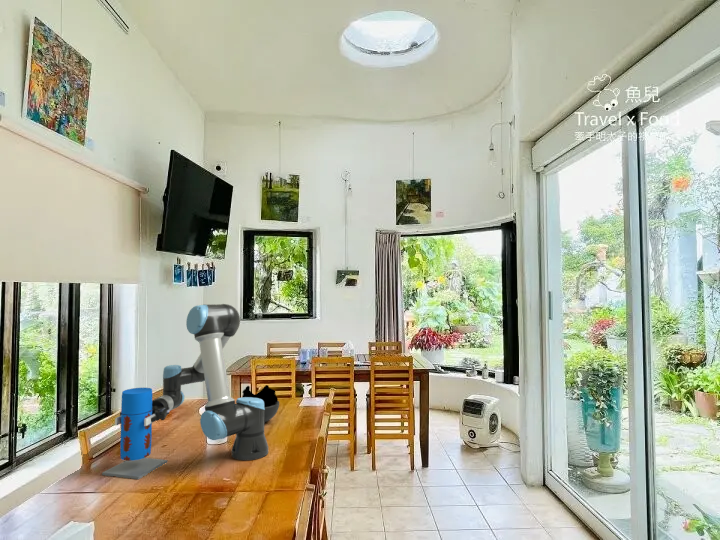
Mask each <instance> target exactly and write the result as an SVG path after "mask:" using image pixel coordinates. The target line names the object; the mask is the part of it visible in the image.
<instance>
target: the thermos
mask: <svg viewBox="0 0 720 540" xmlns="http://www.w3.org/2000/svg"><path fill="white" fill-rule="evenodd" d="M152 401H153V389H152V388H150V387H136V388H135V387H134V388H133V387H132V388H129V389H125V390H122V393H121V408H120V410H121V411H120V413H121V424H120V448H119V449H120V459H121V461H132V460H139V459H143V458H148V457H150V455H151V454H152V453H151V451H152V438H153V437H152V432H153V431H152V430H153V429H152V428H153V423H151V424H149V425H147V426H144V419H145V418H147V417H149V416H151V415H152Z"/></svg>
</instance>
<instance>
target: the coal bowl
mask: <svg viewBox="0 0 720 540" xmlns="http://www.w3.org/2000/svg"><path fill="white" fill-rule="evenodd" d="M250 388H251V387H250V386H249V385H246V386H245V388H244V389H243V390H242V397H241V398H243V397H252V398H259V399H262V400H263V401H264V408H265V413H264V423H266V422H269V421H270V420H271V419H273V418H274V417H275V415H276V414H277V412H278V410H279V407H280V401H279V400H278V396H277V394H276V391H275V390H274V389H273V388H271V387H269V385H267V384H266V385H264V386H263V387H262V388H261V390H259V392H257V393H255V394H254V393H253V392H252V391H251V389H250Z"/></svg>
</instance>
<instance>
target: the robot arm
mask: <svg viewBox="0 0 720 540" xmlns="http://www.w3.org/2000/svg"><path fill="white" fill-rule="evenodd" d="M185 321H186V330H187V331H188V333H190V334H191V335H194V340H195V341H196V342H198V343H199V351H200V353H199V356H198V357H197V358H196V360H195V362H194V363H193V364H192V366H190V367H184V368H183V367H182V366H181V365H179V364H170V365H166V366H165V367H164V368H163V374H162V386H163V387H162V395H161V396H160V397H158V398H155V399H152V415H151V416H149V417H147V418H145V419H144V426H147V425H149V424H151V423H152V424H153V423H154V422H156V421H157V422H159V420H161V421H164V420H165V419H166V417H167V416H168V415H169V414H170V412H171V411H173V410H174V409H176V408H179V407H180V406H181V405H182V404H183V403H184V401H185V395H184V392H183V391H182V386H185V385H189V384H194V383H201V382H202V383H203V382H204V383H205V389H206V390H205V391H206V397H207V402H206V403H205V405H204V410H205V411H203V412H202V413H201V416H200V419H199V423H200V427H201V430H202V433H203V434H204V435H205V437H206V438H207V439H209V440H211V441H218V440H220V439H221V440H223V439H226V438H228V437H230V436H234V435H235V438H234V442H233V445H232V448H231V458H232V459H235V460H237V461H252V460H258V459H261V458H263V457H266V456H267V455H268V453H269V444H268V441H267V438H266V436H265V422H264V413H265V408H264V401H263V400H262V399H259V398H252V397H243V398H242V397H237V398H236V400H235V398H233V397H231V395H230V388H229V381H228V375H227V369H226V364H225V356H224V348H225V346H226V344H227V343H228V341H229V340H230V339H231V338H232V337H234V336H235V335H236V333H237V331H238V330H239V328H240V323H241V317H240V313H239V312H238V310H237V309H236V308H235V307H234V306H232V305H230V304H226V303H222V304H201V305H198V304H197V305H194V306H193V307H192V308H191V309H190V310H189V312H188V314H187V316H186V320H185ZM119 425H121V412H120V413H119V416H117V417H115V418H114V426H119Z"/></svg>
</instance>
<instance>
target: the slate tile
mask: <svg viewBox="0 0 720 540" xmlns="http://www.w3.org/2000/svg"><path fill="white" fill-rule="evenodd" d="M167 462H169V461H168V459H162V458H161V459H160V458H150V457H145V458H143V459H139V460H132V461H126V460H123V461H122V462H121V463H118V464H116V465H115V466H112V467H110V468H108V469H106V470H105V471H103V472H102V474H101V476H104V475H105V476H107V477H113V476H116V477H115V478H122V477H123V478H122V479H130V478H131V480H140V479H142V478H144V477H145V476H147V475H148V473H149V474H150V472H151V471H152V472H154V471H156V470H157V469H159V468H160V466H161V467H162V465H163V464H164V465H166V464H168V463H167ZM165 463H166V464H165ZM164 465H163V466H164ZM158 467H159V468H158ZM156 468H157V469H156ZM155 469H156V470H155ZM153 470H154V471H153ZM152 472H151V473H152ZM143 476H144V477H143Z"/></svg>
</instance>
